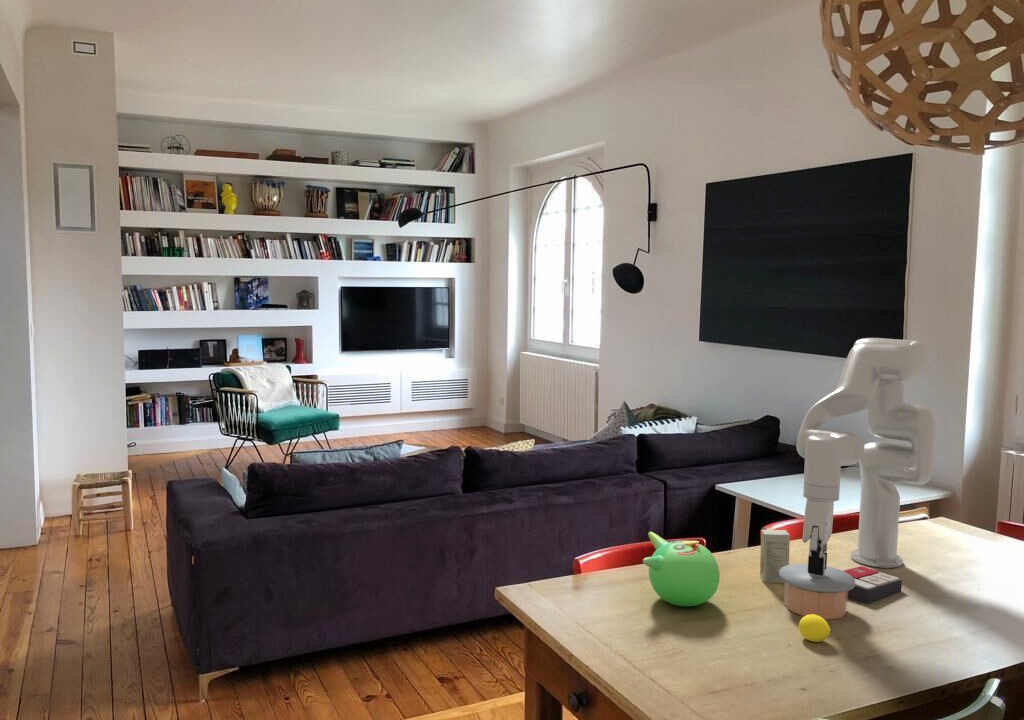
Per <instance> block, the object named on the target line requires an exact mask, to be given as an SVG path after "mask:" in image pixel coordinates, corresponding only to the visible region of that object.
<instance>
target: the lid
mask: <svg viewBox="0 0 1024 720" xmlns="http://www.w3.org/2000/svg"><path fill="white" fill-rule="evenodd" d="M823 558H824V569H823V575H822V576H821V575H815V574H810V573H808V563H793V564H792V563H791V564H789V565H786V566H784V567H782V568H781V569H780V570H779V577H780V578H781V579H782V580H783V581H784V582H786V583H788V584H790V585H792V586H795V587H798V588H801V589H805V590H809V591H815V592H825V593H838V592H845V591H849V590H851V589H853V588H854V587H855V579H854V578H853V577H852V576H851V575H850V574H848V573H846V572H844V570H841V569H839V568H835V567H832V566H827V565H826V570H825V554H824V553H823Z"/></svg>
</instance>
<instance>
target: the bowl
mask: <svg viewBox="0 0 1024 720" xmlns="http://www.w3.org/2000/svg"><path fill="white" fill-rule="evenodd" d="M783 589H784V591H783V604H784V607H785V608H786V609H787V610H788V611H790V612H791V613H793V614H796V615H798V616H801V617H804V616H806V615H810V614H815V615H818V616H821V617H822V618H823V619H824V620H826V621H830V620H838V619H839V620H840V619H841V618H844V617H845V616H846V615H847V614H846V613H847V611H848V601H849V598H848V591H845V592H838V593H825V592H815V591H809V590H805V589H801V588H798V587H795V586H792V585H790V584H788V583H786V582H785V583H784V588H783Z"/></svg>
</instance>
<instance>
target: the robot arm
mask: <svg viewBox="0 0 1024 720" xmlns="http://www.w3.org/2000/svg"><path fill="white" fill-rule="evenodd" d="M928 361H929V352H928V348H927V346H926V345H925V343H923V342H922V341H920V340H916V339H915V340H913V339H898V338H897V339H894V338H885V337H884V338H883V337H865V338H864V337H863V338H860V339H857V340H856V341H855V342H854V344H853V347H852V348H851V349H850V351H848V355H847V357H846V359H845V363H844V366H843V369H842V371H841V374H840V377H839V379H838V381H837V385H836V388H835V390H834V391H833V392H830V393H829V394H827V395H826V396H824V397H823V398H821V399H820V400H818V401H817V402H815V404H813V405H812V406H811V407H810V408H809V409H808V410H807V412H806V413H805V415H804V418H803V420H802V423H801V426H800V428H799V431H798V434H797V436H796V437H797V438H796V451H797V453H798V455H799V456H800V457H801V458H803V459H804V470H803V471H804V472H803V474H804V475H803V489H802V491H803V492H802V496H803V498H805V499H806V503H805V508H804V519H803V528H802V529H803V530H802V539H801V541H802V542H803V543H805V544H806V543H808V542H809V551H808V560H807V564H808V573H810V574H815V575H821V576H822V575H823V569H824V558H823V553H824V554H825V570H826V566H827V562H828V552H827V551H828V541H829V540H830V538H831V536H832V534H833V524H834V523H833V521H834V503H835V502H837V501H839V500H840V487H841V485H840V483H841V469H842V468H841V467H847V466H849V467H850V466H853V465H856V464H857V463H858V464H859V473H860V503H859V504H860V505H859V520H858V535H857V536H858V537H857V549H854V550H852V551H851V552H850V558H851V559H852V560H853V561H855V562H856V563H859V564H863V565H866V566H869V567H874V568H883V569H889V568H890V569H891V568H898V567H901V566H902V565H903V564H904V563H903V561H904V560H903V557H901V555H898V554H897V553H898V541H899V539H898V536H899V522H900V521H899V519H900V508H901V507H900V506H901V497H900V494H899V493H900V492H899V491H898V489H897V488H896V486H895V484H894V483H893V482H899V483H905V484H912V485H926V484H927V483H928V482H929V481H930V480H931V479H932V475H933V472H934V471H933V469H934V455H935V453H934V452H935V434H936V433H935V430H936V429H935V428H936V427H935V426H936V425H935V424H936V423H935V415H934V413H933V411H932V410H931V409H930V408H929V407H928V406H925V405H921V404H912V403H905V401H904V393H905V392H904V391H905V389H904V387H905V385H904V381H908V380H911V379H913V378H916V377H918V376H919V375H920V374H922V372H924V370H925V369H926V367H927V365H928ZM864 410H866V411H867V412H866V429H867V431H868V433H869V434H870V435H872V436H874V437H876V438H882V439H887V440H895V441H902V442H909V443H910V444H911V445H904V444H898V443H893V442H883V441H872V442H868V443H865V444H864V442H863V439H862V438H861V437H860V436H859V435H858V434H855V433H852V432H848V431H839V430H835V429H829V428H826V429H825V428H822V426H824V424H826V423H828V422H829V421H832V420H834V419H837V418H840V417H845V416H847V415H851V414H855V413H858V412H862V411H864Z"/></svg>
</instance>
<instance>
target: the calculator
mask: <svg viewBox="0 0 1024 720" xmlns="http://www.w3.org/2000/svg"><path fill="white" fill-rule="evenodd" d="M843 571H844V572H846V573H848V574H850V575H851V576H852V577H853V578H854V579H855V587H854V588H853V589H851V590H849V591H848V600H852V601H855V602H858V603H861V604H864V605H870V604H873V603H876V602H878V600H882V599H885V598H887V597H891V596H893V595H896V594H898V593H901V592H902V586H903V580H901V579H900V577H897V576H894V575H890V574H888V573H885V572H879V571H878V570H875V569H872V568H868V567H865V566H863V565H859V566H857V567H852V568H848V569H844V570H843Z"/></svg>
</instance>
